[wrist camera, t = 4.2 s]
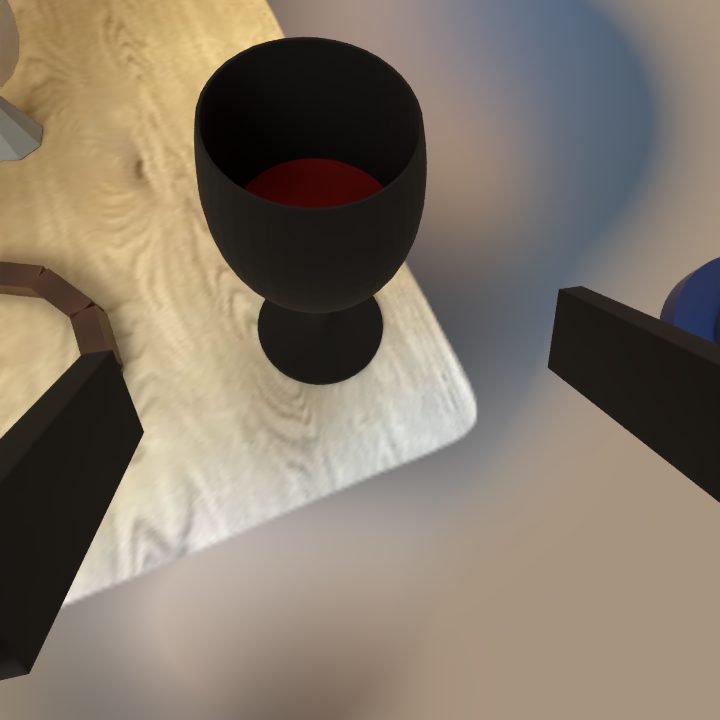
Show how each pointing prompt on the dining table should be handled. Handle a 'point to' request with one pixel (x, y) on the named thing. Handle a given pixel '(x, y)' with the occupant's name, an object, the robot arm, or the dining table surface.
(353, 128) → the wine glass
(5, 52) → the beige ovoid on pedestal
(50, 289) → the walnut ring
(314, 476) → the dining table surface
